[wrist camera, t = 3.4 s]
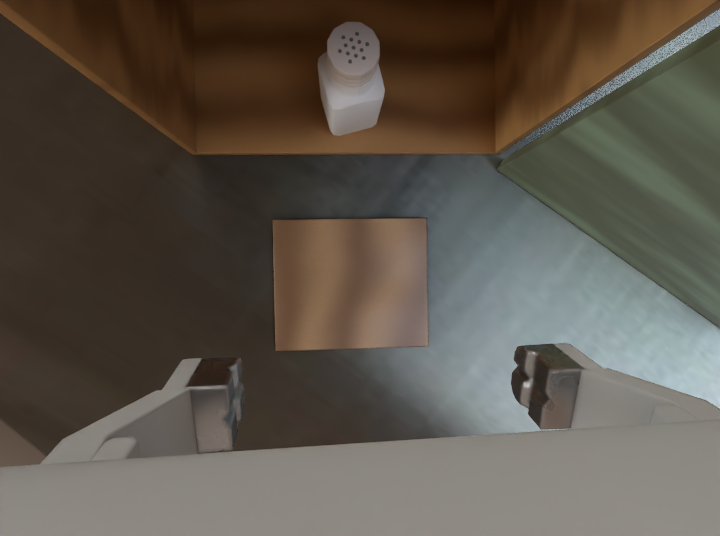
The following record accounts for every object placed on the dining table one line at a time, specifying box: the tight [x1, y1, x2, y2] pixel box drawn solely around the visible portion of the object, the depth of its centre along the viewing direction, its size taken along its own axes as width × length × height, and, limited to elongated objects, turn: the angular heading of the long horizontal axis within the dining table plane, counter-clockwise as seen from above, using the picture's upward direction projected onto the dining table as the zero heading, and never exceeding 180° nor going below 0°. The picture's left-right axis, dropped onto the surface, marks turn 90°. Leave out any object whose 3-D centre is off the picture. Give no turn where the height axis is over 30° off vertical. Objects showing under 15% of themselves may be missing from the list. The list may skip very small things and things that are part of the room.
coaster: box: [273, 218, 429, 351], centre depth 33 cm, size 13×11×1 cm
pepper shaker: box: [317, 22, 385, 136], centre depth 28 cm, size 4×4×10 cm
